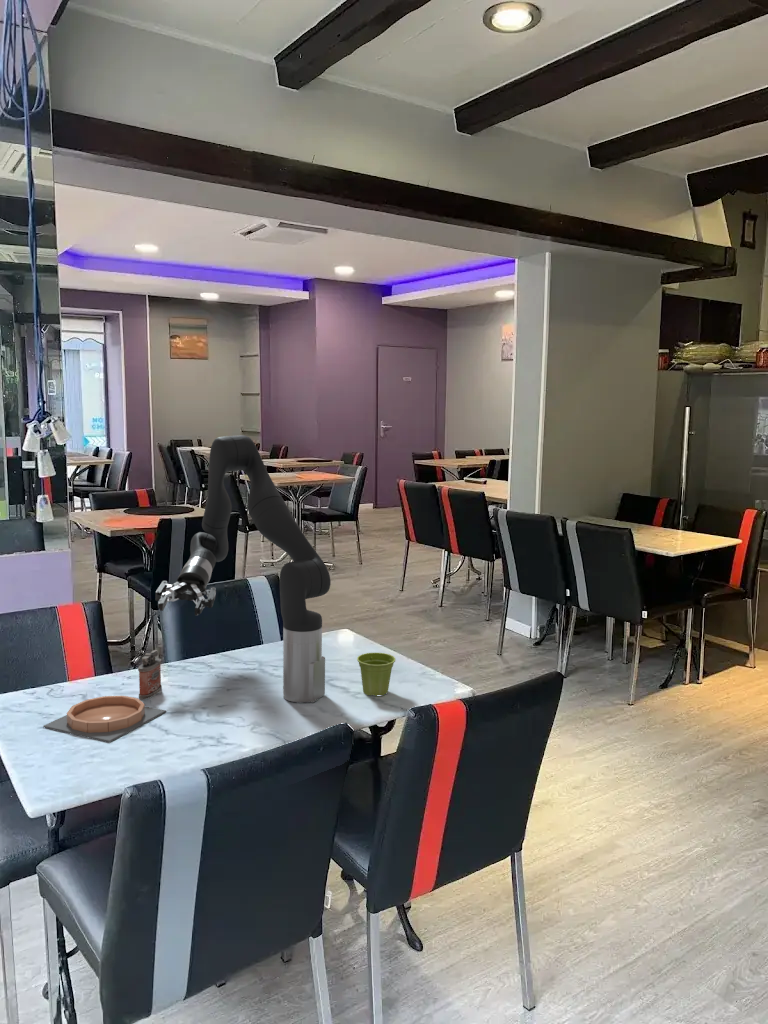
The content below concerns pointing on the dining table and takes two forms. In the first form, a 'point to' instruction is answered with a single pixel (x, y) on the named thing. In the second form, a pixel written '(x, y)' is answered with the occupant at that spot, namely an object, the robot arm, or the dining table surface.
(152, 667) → the lighter
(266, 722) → the dining table surface
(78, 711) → the dish
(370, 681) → the plant pot
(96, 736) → the mat
